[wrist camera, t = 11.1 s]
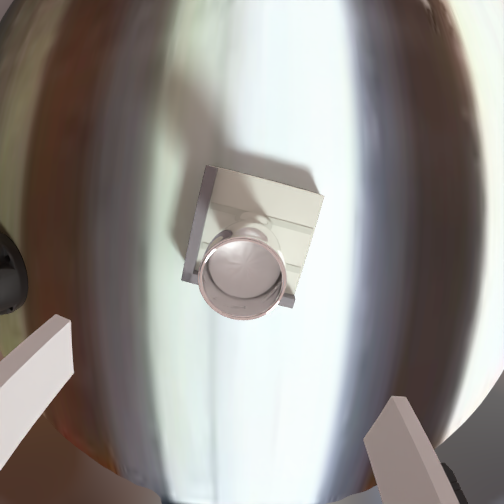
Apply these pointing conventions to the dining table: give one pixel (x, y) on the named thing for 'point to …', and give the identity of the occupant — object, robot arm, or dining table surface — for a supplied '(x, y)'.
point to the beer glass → (243, 268)
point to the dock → (261, 201)
